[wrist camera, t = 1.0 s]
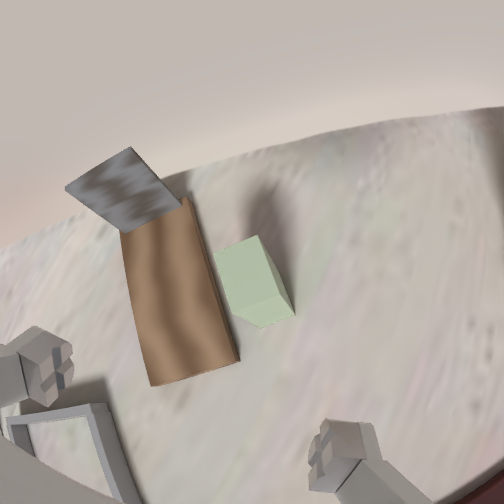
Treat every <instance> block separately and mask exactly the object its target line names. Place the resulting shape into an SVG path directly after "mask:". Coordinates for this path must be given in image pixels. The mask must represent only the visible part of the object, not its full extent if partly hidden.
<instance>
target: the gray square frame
mask: <svg viewBox="0 0 504 504" xmlns="http://www.w3.org/2000/svg"><path fill="white" fill-rule="evenodd" d="M84 416H87V420H88V423H89V427H90V431H91V434H92V437H93V441H94V444H95V447H96V450H97V453H98V457H99V460H100V462H101V465H102V468H103V471H104V474H105V477H106V479H107V482H108V485H109V487H110V490H111V492H112V495H113V497H114V499H116V500H118V501H120V502H123V503H125V504H142V502H141V499H140V497H139V494H138V492H137V489H136V487H135V484H134V482H133V479H132V476H131V474H130V471H129V468H128V465H127V463H126V460H125V457H124V454H123V451H122V448H121V445H120V442H119V439H118V435H117V432H116V429H115V425H114V422H113V418H112V415H111V412H109V409H108V405H107V402H105V403H89V404H84V405H79V406H74V407H69V408H63V409H58V410H52V411H46V412H40V413H34V414H27V415H20V416H12V417H6V421H7V428H8V432H9V437H10V440H11V442H12V443H14V444H15V445H17V446H18V447H19V448H21V449H22V450H24V451H25V452H27V453H29V454H30V455H32V456H33V457H35V456H34V453H33V449H32V446H31V442H30V439H29V435H28V431H27V427H26V424H35V423H43V422H51V421H59V420H65V419H72V418H78V417H84Z"/></svg>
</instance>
